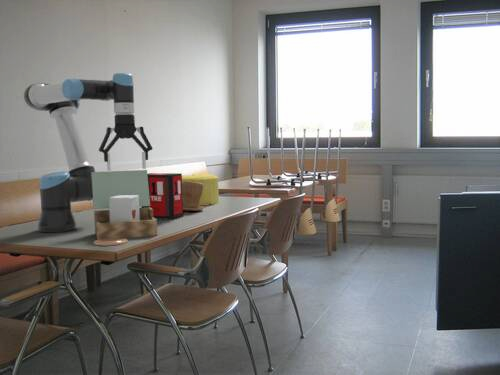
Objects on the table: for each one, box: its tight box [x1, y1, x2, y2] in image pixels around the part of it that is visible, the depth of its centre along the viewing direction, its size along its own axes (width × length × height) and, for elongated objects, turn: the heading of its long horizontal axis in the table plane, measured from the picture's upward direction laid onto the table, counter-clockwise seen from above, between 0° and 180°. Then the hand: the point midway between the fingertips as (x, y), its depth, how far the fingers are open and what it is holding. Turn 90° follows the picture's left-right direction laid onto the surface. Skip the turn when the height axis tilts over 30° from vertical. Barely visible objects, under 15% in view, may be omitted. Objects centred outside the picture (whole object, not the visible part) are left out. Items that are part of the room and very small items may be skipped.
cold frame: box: [93, 207, 158, 240], centre depth 226 cm, size 22×15×9 cm
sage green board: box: [91, 169, 150, 210], centre depth 234 cm, size 22×15×1 cm
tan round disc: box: [93, 238, 129, 247], centre depth 210 cm, size 12×12×1 cm
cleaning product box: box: [140, 172, 184, 220], centre depth 267 cm, size 16×9×20 cm, turn 69°
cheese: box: [182, 173, 220, 206], centre depth 319 cm, size 26×26×15 cm
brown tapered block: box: [182, 181, 204, 212], centre depth 288 cm, size 15×12×15 cm
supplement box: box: [108, 195, 140, 223], centre depth 225 cm, size 9×9×15 cm
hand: (126, 169), depth 226 cm, fingers open, 13 cm apart
